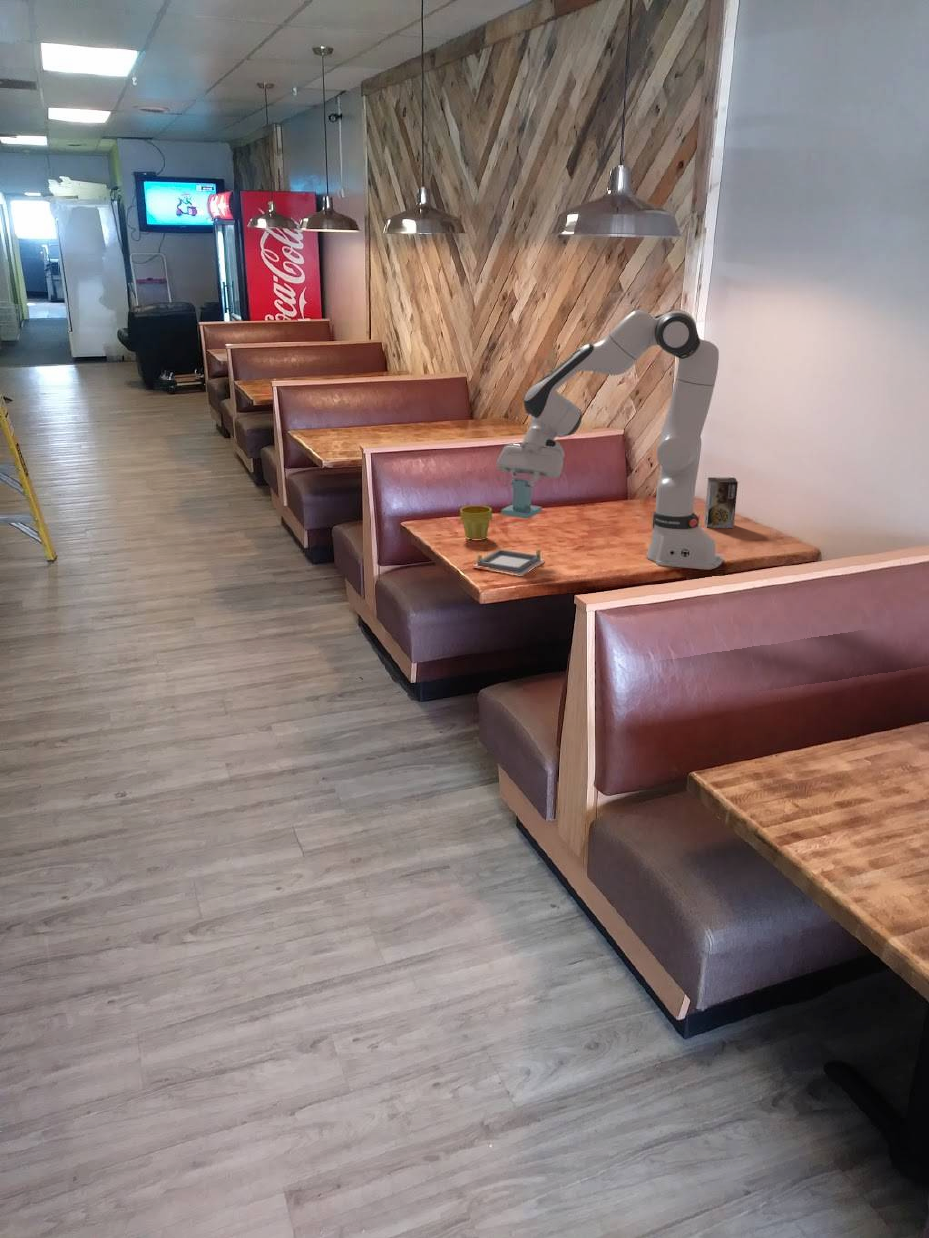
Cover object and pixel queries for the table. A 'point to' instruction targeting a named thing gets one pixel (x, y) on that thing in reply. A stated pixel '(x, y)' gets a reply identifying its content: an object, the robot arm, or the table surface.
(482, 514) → the plant pot
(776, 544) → the table surface
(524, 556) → the base
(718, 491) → the coffee box
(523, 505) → the teal plate with post
